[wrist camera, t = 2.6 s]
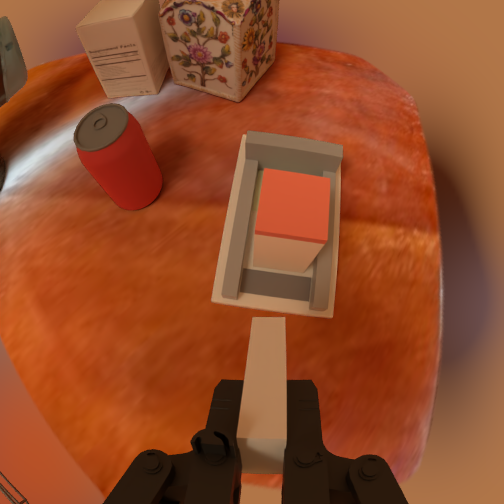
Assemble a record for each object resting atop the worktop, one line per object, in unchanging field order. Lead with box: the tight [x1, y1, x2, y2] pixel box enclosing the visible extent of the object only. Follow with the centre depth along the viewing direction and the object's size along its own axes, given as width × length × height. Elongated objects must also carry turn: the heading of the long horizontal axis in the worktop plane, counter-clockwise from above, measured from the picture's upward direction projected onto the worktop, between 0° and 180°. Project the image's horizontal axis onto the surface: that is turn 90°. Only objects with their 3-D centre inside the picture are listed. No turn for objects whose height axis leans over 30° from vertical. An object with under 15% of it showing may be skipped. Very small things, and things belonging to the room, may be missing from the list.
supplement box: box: [75, 0, 169, 98], centre depth 33 cm, size 9×9×15 cm
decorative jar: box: [158, 0, 279, 102], centre depth 32 cm, size 12×12×18 cm
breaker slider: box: [253, 168, 330, 273], centre depth 26 cm, size 5×5×10 cm
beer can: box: [74, 103, 163, 210], centre depth 29 cm, size 7×7×12 cm
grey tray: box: [211, 131, 343, 319], centre depth 30 cm, size 20×12×6 cm, turn 172°
